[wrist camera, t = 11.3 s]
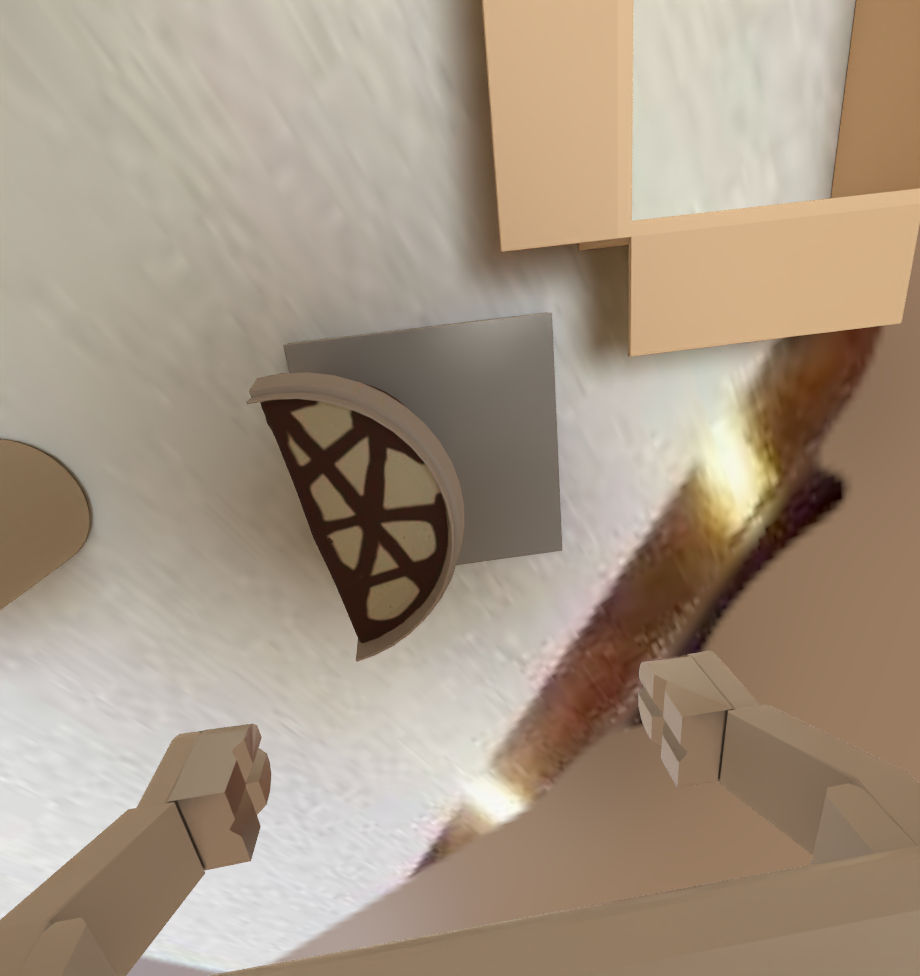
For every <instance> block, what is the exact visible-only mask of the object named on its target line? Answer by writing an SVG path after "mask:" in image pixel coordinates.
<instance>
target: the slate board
mask: <svg viewBox="0 0 920 976" xmlns="http://www.w3.org/2000/svg"><path fill="white" fill-rule="evenodd" d="M283 346H284V351H285V355H286V359H287V364H288V368H289V373H305V372H309V373H318V374H327V375H335V376H338V377H342V378H346V379H350V380H353V381H357V382H360V383H363V384H367V385H371V386H374V387H376V388H378V389H381V390H383V391H385V392H387V393H388V394H390V395H392V396H393V397H395V398H397V399H398V400H399V401H400V402H401V403H403V404H404V405H405V406H406V407H407V408H408V409H409V410H410V411H411V412H412V413H413V414H415V415H416V416H417V417H418V418H419V419H420V420H421V421H423V422H424V423H425V424H426V426H427V427H428V428H429V429H430V430H431V432H432V433H433V434H434V435H435V436H436V438H437V439H438V440H439V441H440V443H441V445H442V446H443V448H444V450H445V451H446V453H447V455H448V456H449V458H450V460H451V461H452V464H453V467H454V469H455V472H456V474H457V477H458V480H459V482H460V487H461V492H462V497H463V502H464V523H465V525H464V532H463V539H462V546H461V549H460V553H459V556H458V560H457V563H456V565H460V564H467V563H474V562H481V561H489V560H496V559H503V558H511V557H518V556H525V555H532V554H540V553H547V552H554V551H562V535H561V512H560V489H559V466H558V443H557V421H556V398H555V375H554V352H553V330H552V313H538V314H530V315H522V316H513V317H505V318H496V319H488V320H480V321H471V322H463V323H455V324H446V325H438V326H429V327H421V328H413V329H404V330H396V331H388V332H379V333H371V334H362V335H354V336H346V337H337V338H329V339H320V340H312V341H304V342H295V343H288V344H285V345H283Z"/></svg>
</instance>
